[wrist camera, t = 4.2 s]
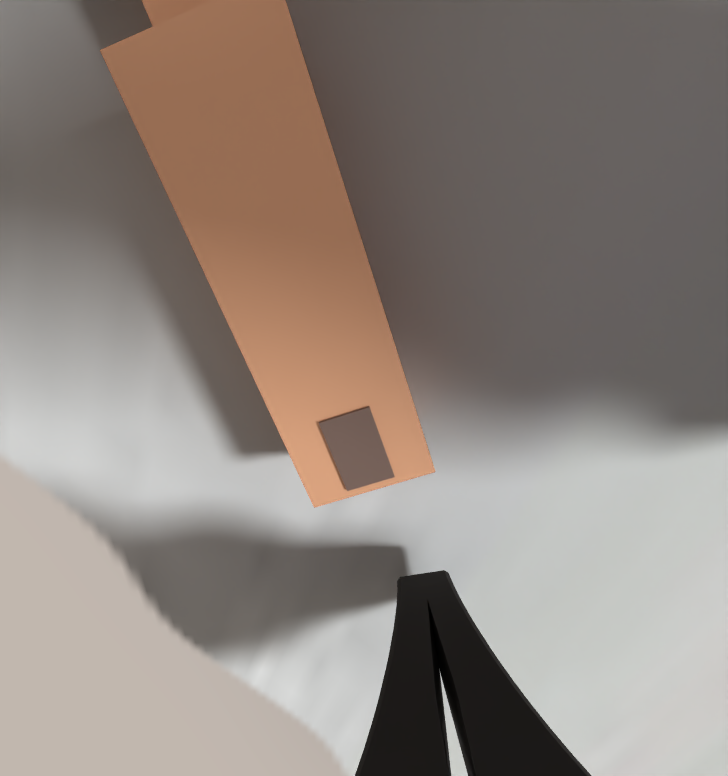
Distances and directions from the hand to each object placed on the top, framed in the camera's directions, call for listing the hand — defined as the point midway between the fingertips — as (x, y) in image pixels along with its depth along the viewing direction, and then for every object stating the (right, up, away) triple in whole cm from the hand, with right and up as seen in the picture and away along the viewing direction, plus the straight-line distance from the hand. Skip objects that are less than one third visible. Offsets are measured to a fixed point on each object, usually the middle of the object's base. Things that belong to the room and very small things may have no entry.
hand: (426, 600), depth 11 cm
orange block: (-3, +9, -2) cm, 10 cm away
